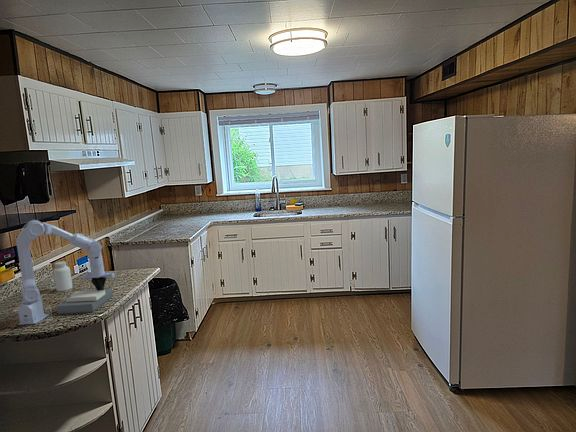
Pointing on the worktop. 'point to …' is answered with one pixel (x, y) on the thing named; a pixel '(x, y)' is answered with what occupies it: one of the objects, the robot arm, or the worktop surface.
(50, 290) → the worktop surface
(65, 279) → the pill bottle
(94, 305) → the gray storage bin
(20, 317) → the robot arm
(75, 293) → the cover
